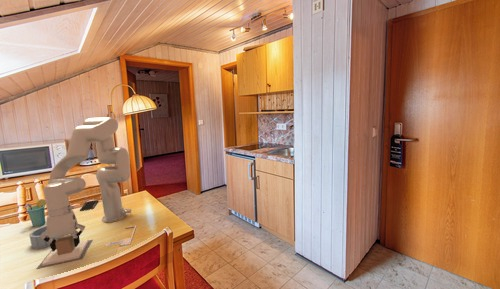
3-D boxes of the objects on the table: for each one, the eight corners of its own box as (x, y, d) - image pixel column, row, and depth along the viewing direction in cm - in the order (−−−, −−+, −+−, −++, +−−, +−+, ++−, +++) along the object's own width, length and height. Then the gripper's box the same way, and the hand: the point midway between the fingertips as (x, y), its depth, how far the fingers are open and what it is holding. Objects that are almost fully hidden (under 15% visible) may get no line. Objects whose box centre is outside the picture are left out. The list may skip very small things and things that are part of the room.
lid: (88, 241, 112) (86, 228, 110) (79, 257, 100) (76, 242, 98) (56, 248, 107) (53, 234, 106) (42, 266, 95) (39, 250, 94)
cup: (37, 231, 125) (31, 205, 123) (20, 233, 124) (15, 206, 122) (53, 219, 139) (49, 195, 137) (39, 220, 138) (34, 197, 135)
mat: (93, 240, 114) (93, 239, 114) (82, 260, 99) (82, 259, 99) (53, 248, 108) (53, 247, 108) (36, 270, 93) (35, 269, 93)
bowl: (67, 233, 122) (65, 222, 121) (58, 245, 110) (55, 233, 109) (39, 238, 118) (37, 226, 116) (26, 252, 106) (23, 239, 105)
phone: (98, 199, 165) (93, 207, 151) (98, 201, 165) (93, 209, 152) (85, 201, 162) (79, 210, 148) (85, 203, 162) (79, 211, 149)
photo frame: (94, 250, 105) (106, 230, 122) (95, 252, 105) (106, 232, 122) (129, 243, 109) (136, 225, 126) (130, 245, 109) (136, 227, 126)
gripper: (85, 203, 107) (91, 238, 109) (38, 211, 101) (46, 247, 104) (79, 210, 100) (86, 247, 102) (29, 218, 94) (37, 257, 97)
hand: (66, 247), depth 103 cm, fingers open, 7 cm apart
